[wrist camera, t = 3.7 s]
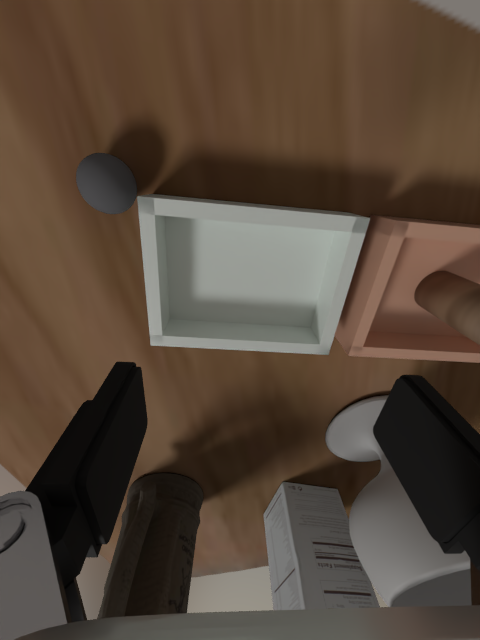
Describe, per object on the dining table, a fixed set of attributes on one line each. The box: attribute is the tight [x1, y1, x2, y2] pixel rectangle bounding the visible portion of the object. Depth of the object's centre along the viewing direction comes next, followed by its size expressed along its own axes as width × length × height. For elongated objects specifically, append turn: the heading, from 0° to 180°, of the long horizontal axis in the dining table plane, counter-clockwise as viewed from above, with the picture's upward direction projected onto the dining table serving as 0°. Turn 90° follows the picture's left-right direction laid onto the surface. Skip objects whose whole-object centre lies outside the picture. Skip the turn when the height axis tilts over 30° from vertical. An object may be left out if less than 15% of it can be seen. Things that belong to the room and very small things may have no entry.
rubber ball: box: [76, 153, 137, 214], centre depth 17 cm, size 4×4×4 cm
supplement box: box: [264, 482, 380, 610], centre depth 33 cm, size 10×9×17 cm
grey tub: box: [137, 194, 370, 355], centre depth 21 cm, size 15×11×4 cm
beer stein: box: [97, 473, 203, 619], centre depth 28 cm, size 15×11×20 cm
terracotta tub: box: [335, 215, 480, 363], centre depth 22 cm, size 15×11×4 cm
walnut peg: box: [414, 271, 480, 345], centre depth 19 cm, size 4×4×8 cm
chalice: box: [325, 395, 472, 607], centre depth 26 cm, size 14×14×15 cm
